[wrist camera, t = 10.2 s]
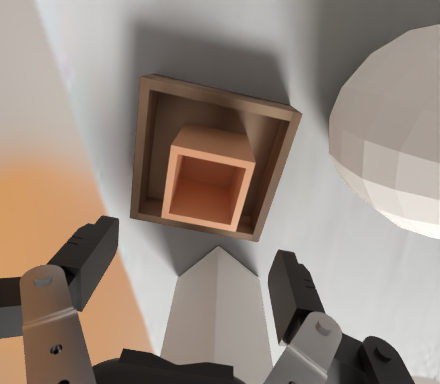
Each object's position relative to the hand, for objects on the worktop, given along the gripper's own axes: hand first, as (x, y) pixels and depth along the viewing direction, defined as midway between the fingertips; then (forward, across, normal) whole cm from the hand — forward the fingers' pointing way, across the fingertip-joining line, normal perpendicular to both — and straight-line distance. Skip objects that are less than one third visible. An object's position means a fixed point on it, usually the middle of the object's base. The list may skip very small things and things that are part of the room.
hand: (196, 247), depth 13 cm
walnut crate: (+14, 0, 0) cm, 14 cm away
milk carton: (+14, -4, +15) cm, 21 cm away
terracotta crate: (+13, 0, 0) cm, 13 cm away
